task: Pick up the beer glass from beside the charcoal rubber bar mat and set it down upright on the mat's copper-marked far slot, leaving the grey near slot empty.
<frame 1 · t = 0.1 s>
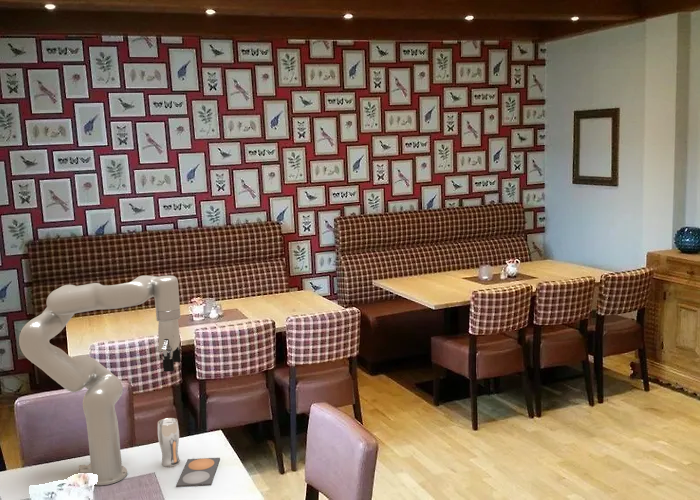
hand: (172, 366, 229), 37 cm above the table, tool pointing down, fingers open, 9 cm apart
beer glass: (170, 464, 242), on the table
bar mat: (199, 472, 235), on the table
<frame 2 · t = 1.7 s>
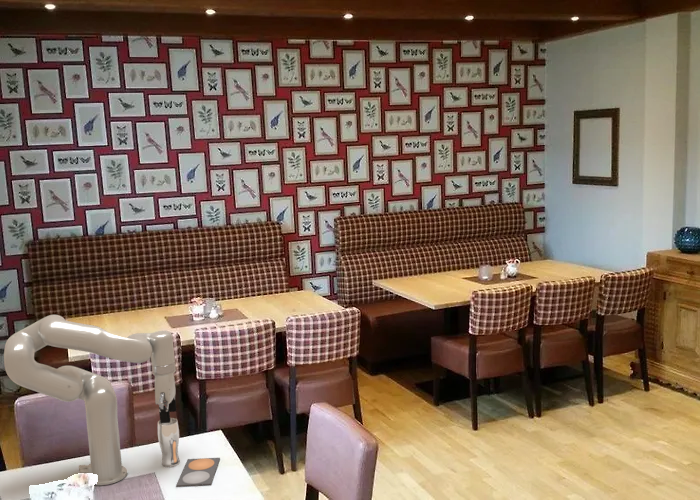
hand: (168, 416, 240), 16 cm above the table, tool pointing down, fingers open, 9 cm apart
nothing on the table moved.
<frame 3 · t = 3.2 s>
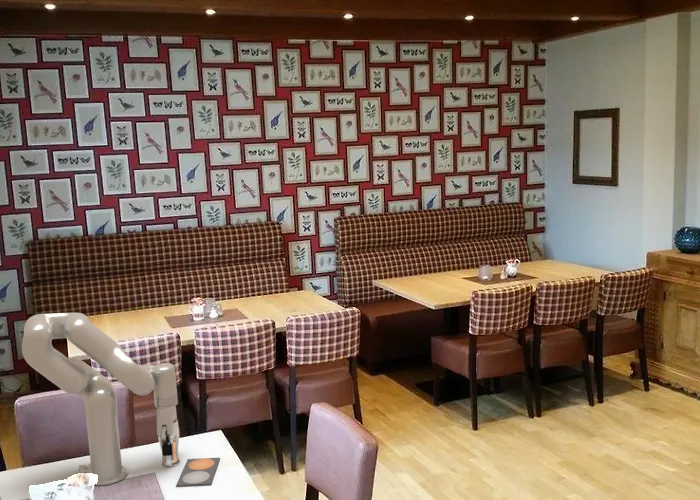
hand: (169, 450, 242), 5 cm above the table, tool pointing down, fingers closed on beer glass, 6 cm apart
beer glass: (170, 463, 242), on the table, touching gripper
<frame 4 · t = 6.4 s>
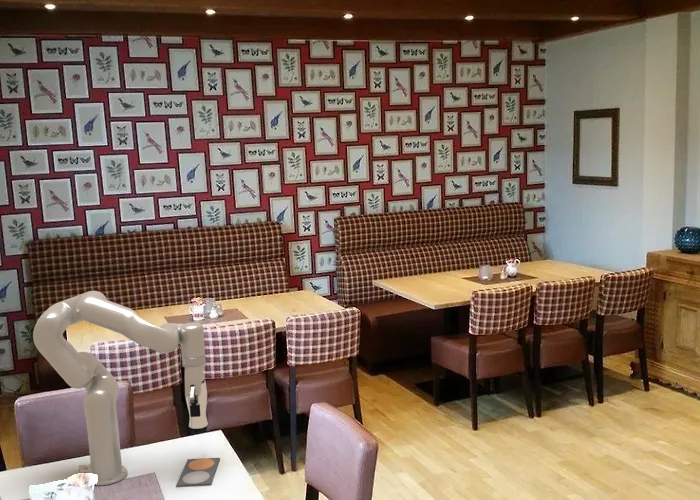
hand: (197, 411, 237), 19 cm above the table, tool pointing down, fingers closed on beer glass, 6 cm apart
beer glass: (198, 425, 237), point 14 cm above the table, touching gripper
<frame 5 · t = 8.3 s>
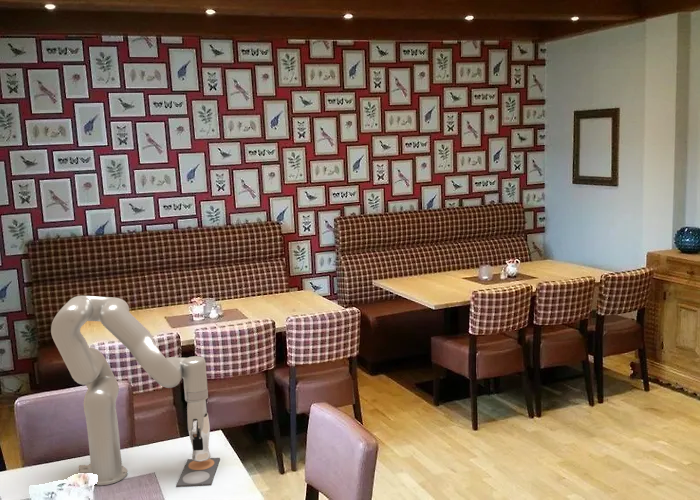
hand: (200, 444, 238), 8 cm above the table, tool pointing down, fingers closed on beer glass, 6 cm apart
beer glass: (201, 458, 239), point 3 cm above the table, touching gripper
when the fingers open (6 cm above the table, at t = 9.6 s): beer glass stays where it is, resting on bar mat.
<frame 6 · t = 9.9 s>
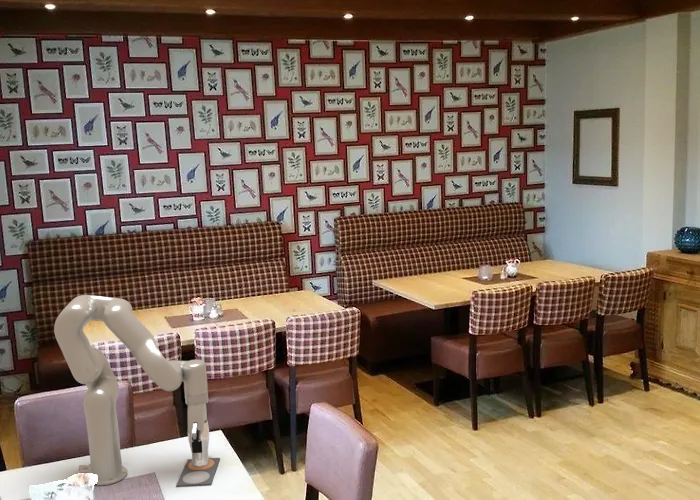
hand: (200, 446, 238), 7 cm above the table, tool pointing down, fingers open, 9 cm apart
beer glass: (200, 464, 239), point 1 cm above the table, touching bar mat
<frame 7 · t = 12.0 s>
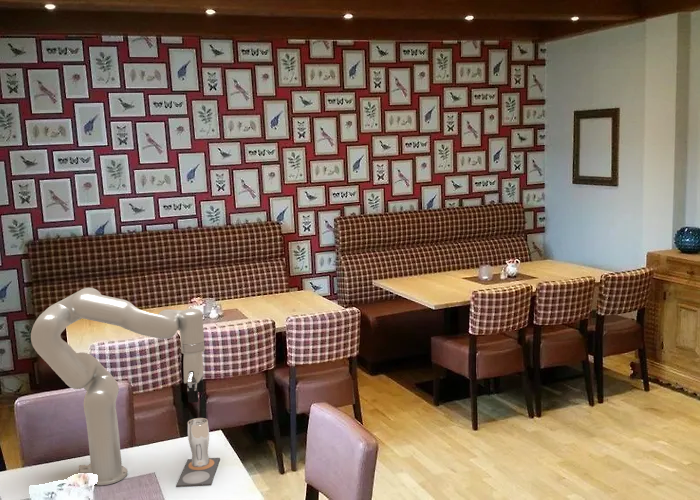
hand: (196, 396, 236), 24 cm above the table, tool pointing down, fingers open, 9 cm apart
nothing on the table moved.
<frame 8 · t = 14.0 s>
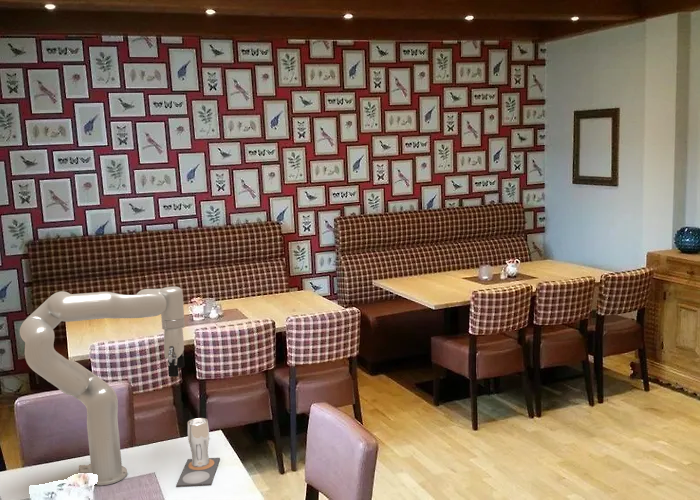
hand: (176, 371, 244), 30 cm above the table, tool pointing down, fingers open, 9 cm apart
nothing on the table moved.
at the end: beer glass 0.4 cm from the target spot on the bar mat, point 0.5 cm above the bar mat's base; beer glass tilted 0°; the gripper is holding nothing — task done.
